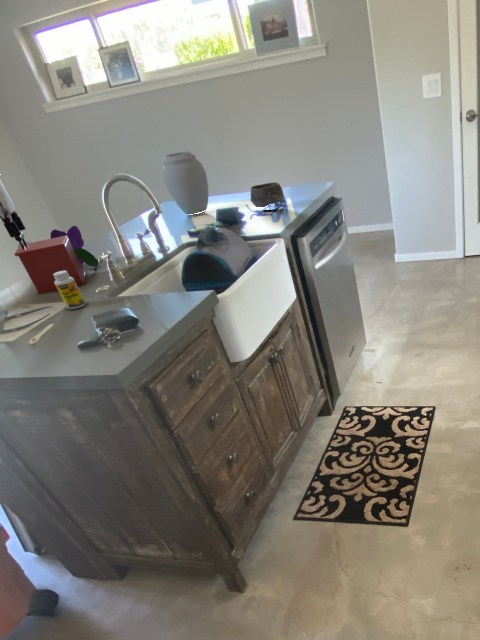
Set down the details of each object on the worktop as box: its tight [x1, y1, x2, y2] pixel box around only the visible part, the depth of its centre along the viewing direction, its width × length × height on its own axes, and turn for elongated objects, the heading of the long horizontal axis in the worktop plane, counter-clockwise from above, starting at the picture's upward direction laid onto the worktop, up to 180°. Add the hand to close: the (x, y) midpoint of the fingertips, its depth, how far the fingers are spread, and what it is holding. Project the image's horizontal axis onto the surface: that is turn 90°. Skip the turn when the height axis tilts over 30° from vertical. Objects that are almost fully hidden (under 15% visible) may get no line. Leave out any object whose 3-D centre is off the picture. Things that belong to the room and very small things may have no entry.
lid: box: [14, 231, 68, 257], centre depth 174 cm, size 15×14×5 cm
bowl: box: [249, 181, 285, 208], centre depth 234 cm, size 14×15×10 cm
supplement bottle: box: [53, 271, 86, 310], centre depth 159 cm, size 6×6×10 cm
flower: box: [50, 225, 99, 269], centre depth 193 cm, size 15×15×14 cm
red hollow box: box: [18, 238, 86, 295], centre depth 180 cm, size 15×14×12 cm
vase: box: [161, 151, 209, 217], centre depth 241 cm, size 20×20×24 cm
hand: (18, 233), depth 171 cm, fingers open, 9 cm apart
